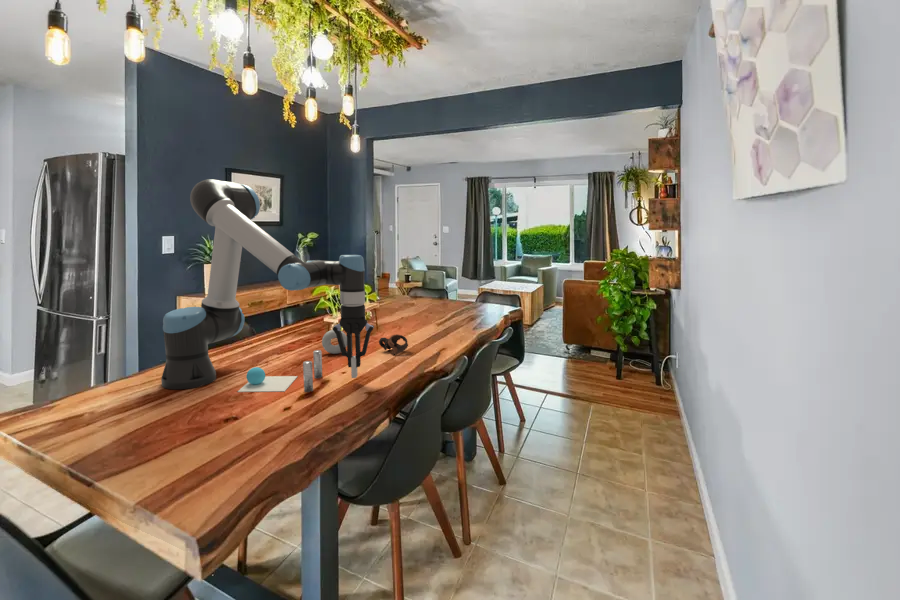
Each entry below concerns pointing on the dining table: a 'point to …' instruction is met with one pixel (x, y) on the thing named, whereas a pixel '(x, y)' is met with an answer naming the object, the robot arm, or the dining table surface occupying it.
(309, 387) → the post
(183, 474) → the dining table surface
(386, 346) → the dark brown looped sculpture
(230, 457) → the dining table surface
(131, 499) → the dining table surface
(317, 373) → the post
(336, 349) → the donut
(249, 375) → the ball
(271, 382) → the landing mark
